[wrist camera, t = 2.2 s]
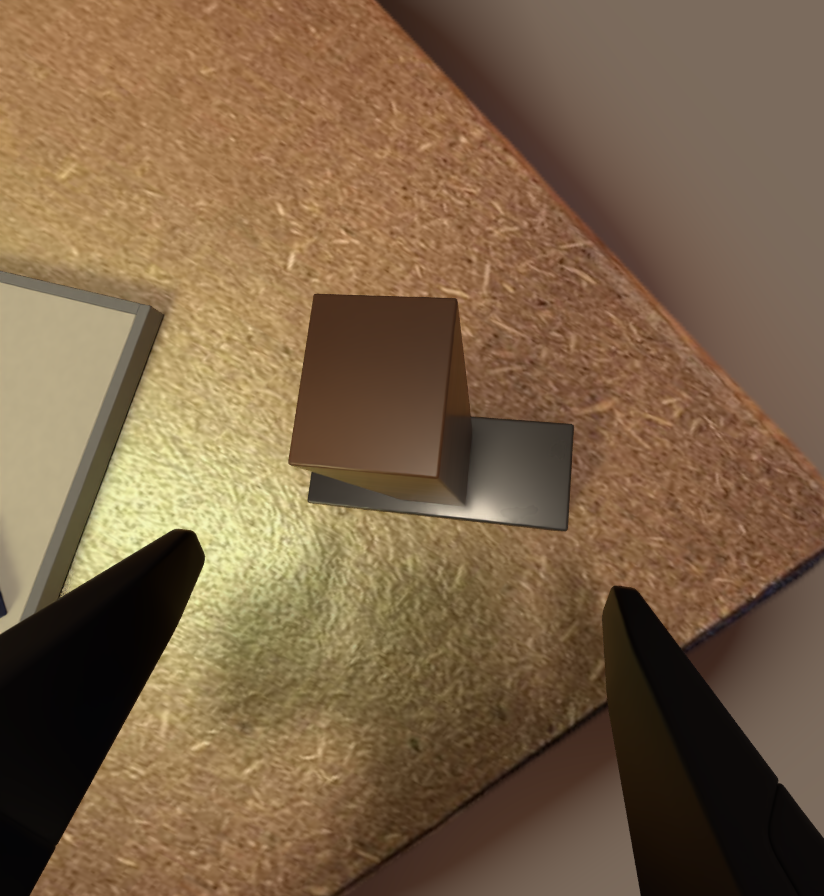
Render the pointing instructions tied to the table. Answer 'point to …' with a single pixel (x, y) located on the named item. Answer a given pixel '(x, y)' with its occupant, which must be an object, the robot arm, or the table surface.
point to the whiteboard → (58, 423)
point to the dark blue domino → (2, 607)
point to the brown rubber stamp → (416, 421)
